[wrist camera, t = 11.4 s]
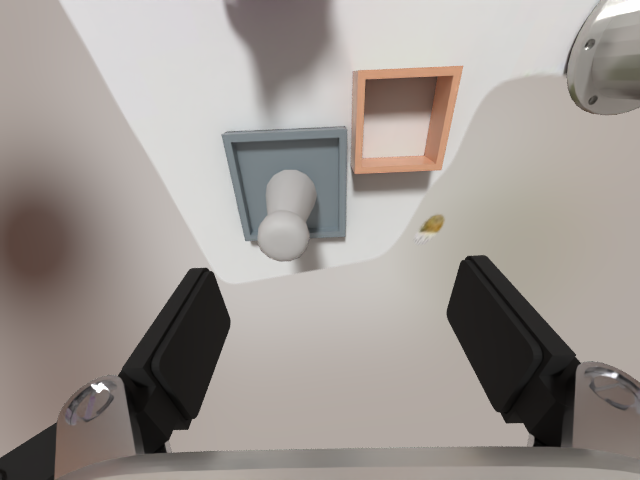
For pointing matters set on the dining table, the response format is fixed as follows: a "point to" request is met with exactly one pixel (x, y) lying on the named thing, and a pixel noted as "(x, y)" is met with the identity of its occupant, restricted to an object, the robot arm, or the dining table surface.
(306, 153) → the tray
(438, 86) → the open box
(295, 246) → the salt shaker
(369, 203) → the dining table surface
